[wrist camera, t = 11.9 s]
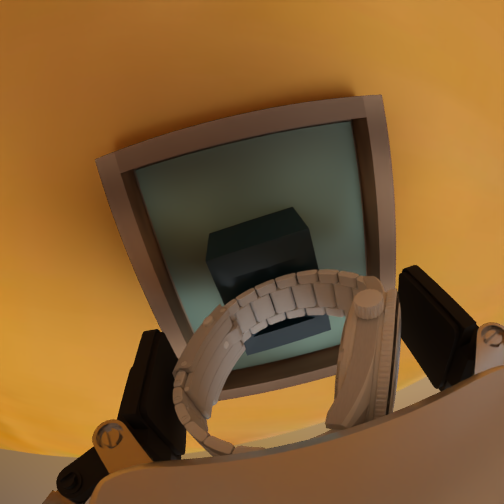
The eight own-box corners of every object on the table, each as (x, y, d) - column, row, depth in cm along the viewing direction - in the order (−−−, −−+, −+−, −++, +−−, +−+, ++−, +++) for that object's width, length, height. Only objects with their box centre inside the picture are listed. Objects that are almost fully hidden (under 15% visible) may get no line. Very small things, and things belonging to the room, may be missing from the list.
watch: (346, 285, 17) (443, 443, 7) (215, 326, 17) (215, 511, 7) (328, 193, 14) (486, 331, 4) (175, 243, 15) (114, 443, 5)
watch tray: (116, 152, 14) (94, 159, 11) (356, 97, 14) (381, 94, 11) (202, 373, 21) (201, 403, 18) (374, 332, 20) (389, 356, 18)
